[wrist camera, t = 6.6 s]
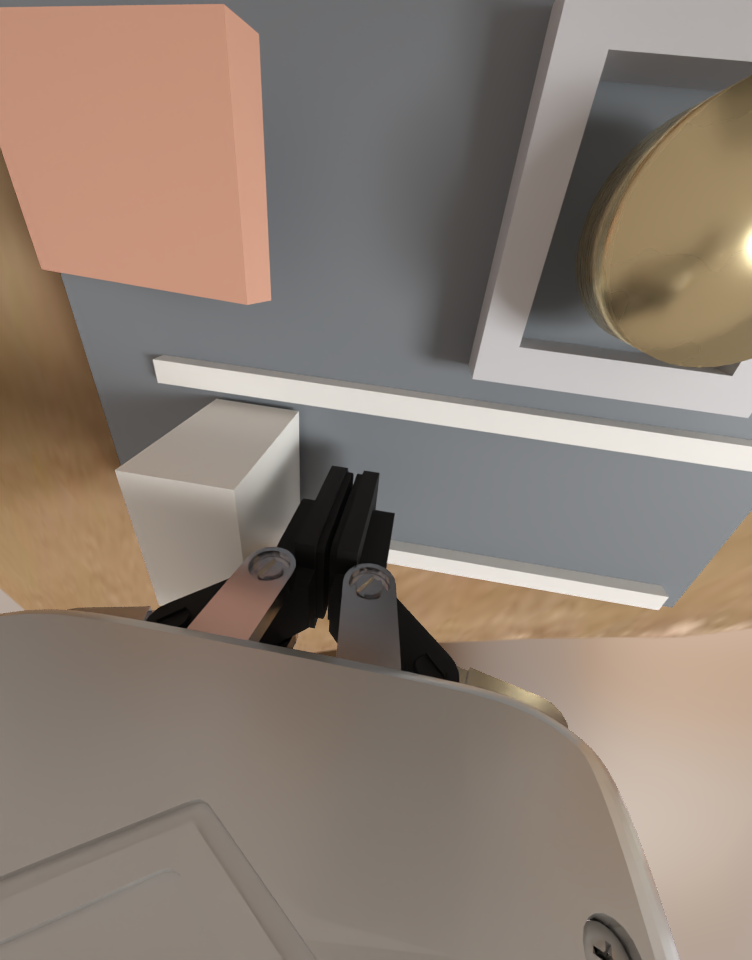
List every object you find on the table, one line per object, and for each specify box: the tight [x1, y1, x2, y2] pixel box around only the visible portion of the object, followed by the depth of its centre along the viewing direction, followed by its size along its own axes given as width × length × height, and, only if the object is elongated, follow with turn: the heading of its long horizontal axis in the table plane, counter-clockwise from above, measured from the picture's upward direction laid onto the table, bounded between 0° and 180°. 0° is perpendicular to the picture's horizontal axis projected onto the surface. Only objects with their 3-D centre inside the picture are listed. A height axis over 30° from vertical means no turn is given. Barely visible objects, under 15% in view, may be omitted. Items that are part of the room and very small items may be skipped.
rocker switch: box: [0, 4, 271, 305], centre depth 8 cm, size 6×4×1 cm
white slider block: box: [115, 399, 300, 606], centre depth 12 cm, size 3×5×5 cm, turn 174°
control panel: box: [0, 0, 752, 610], centre depth 13 cm, size 24×17×4 cm
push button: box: [576, 75, 752, 368], centre depth 7 cm, size 4×4×2 cm
